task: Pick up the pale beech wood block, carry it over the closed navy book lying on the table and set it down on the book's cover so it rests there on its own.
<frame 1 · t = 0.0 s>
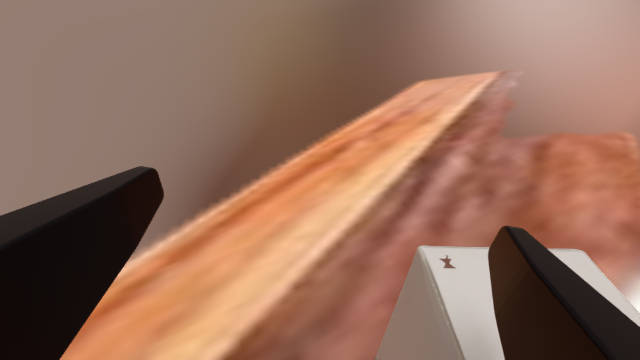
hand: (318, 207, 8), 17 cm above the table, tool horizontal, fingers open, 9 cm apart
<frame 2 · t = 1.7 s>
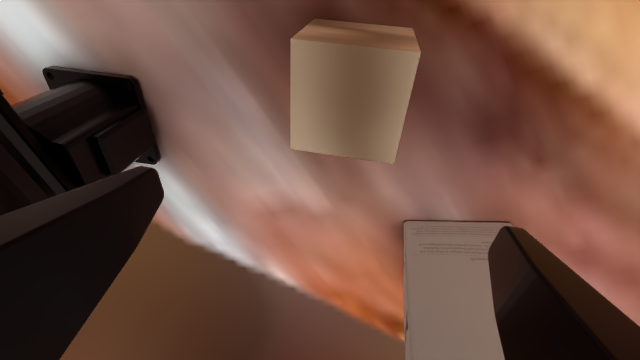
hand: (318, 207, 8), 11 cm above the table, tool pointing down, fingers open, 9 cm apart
supplement box: (449, 252, 24), on the table
beech block: (356, 72, 17), on the table
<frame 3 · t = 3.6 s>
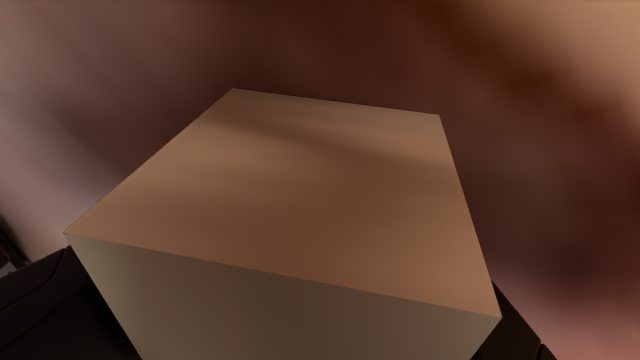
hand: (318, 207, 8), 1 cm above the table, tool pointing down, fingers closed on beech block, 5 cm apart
beech block: (324, 183, 9), on the table, touching gripper
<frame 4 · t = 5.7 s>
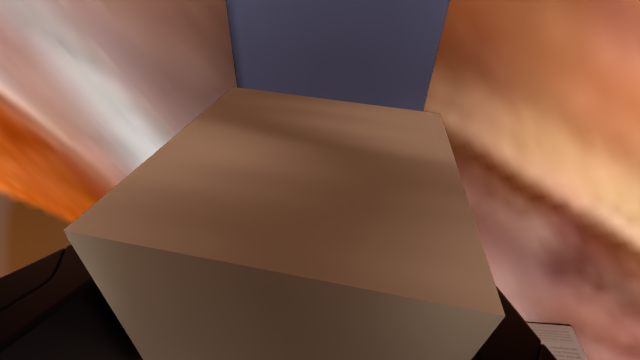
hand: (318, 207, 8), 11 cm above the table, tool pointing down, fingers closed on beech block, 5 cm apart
navy book: (337, 55, 16), on the table
supplement box: (514, 341, 29), on the table
beech block: (325, 183, 9), point 10 cm above the table, touching gripper
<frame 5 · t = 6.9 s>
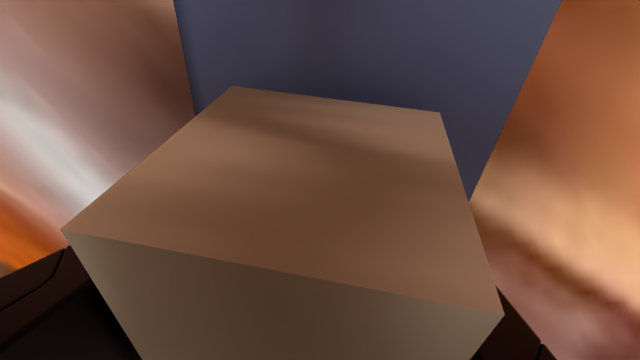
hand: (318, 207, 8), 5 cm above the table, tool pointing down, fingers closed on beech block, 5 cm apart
navy book: (343, 118, 12), on the table
beech block: (324, 182, 9), point 4 cm above the table, touching gripper
when the fingers open (5 cm above the table, at t = 7.7 s): beech block drops 1 cm, resting on navy book.
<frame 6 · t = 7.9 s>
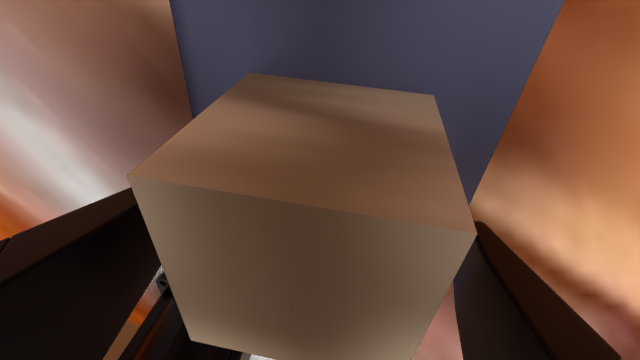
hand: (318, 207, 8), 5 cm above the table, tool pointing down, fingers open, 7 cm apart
navy book: (342, 121, 12), on the table
beech block: (330, 161, 10), point 3 cm above the table, touching navy book
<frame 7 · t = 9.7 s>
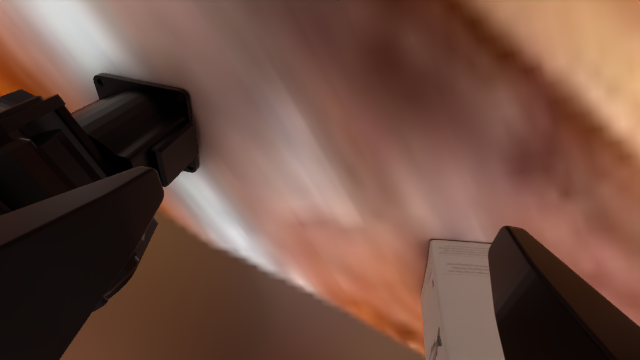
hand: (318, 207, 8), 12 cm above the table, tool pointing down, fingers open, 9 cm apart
supplement box: (468, 270, 26), on the table
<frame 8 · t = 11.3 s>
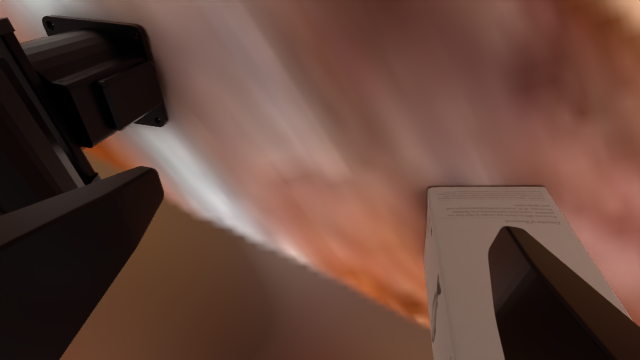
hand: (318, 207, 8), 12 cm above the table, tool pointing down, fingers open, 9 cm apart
supplement box: (475, 223, 23), on the table
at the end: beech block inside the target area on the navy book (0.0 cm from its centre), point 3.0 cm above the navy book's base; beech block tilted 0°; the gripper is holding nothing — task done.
